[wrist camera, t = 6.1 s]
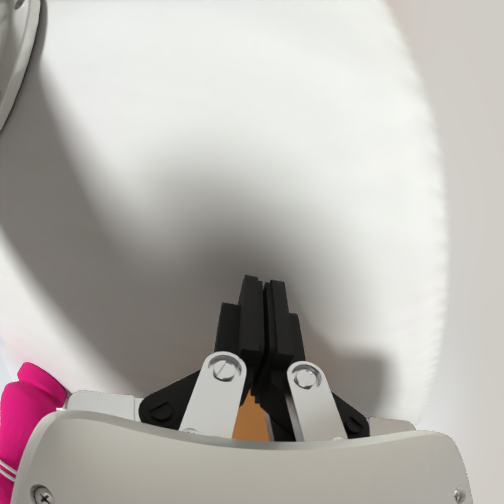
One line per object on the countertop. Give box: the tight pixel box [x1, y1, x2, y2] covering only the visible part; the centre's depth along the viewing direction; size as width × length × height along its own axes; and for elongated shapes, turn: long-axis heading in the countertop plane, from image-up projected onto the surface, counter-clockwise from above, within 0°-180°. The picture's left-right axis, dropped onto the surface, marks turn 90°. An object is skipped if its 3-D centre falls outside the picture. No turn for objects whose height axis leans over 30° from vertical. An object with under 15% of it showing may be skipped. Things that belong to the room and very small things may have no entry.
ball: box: [231, 390, 269, 441], centre depth 15 cm, size 6×6×6 cm
